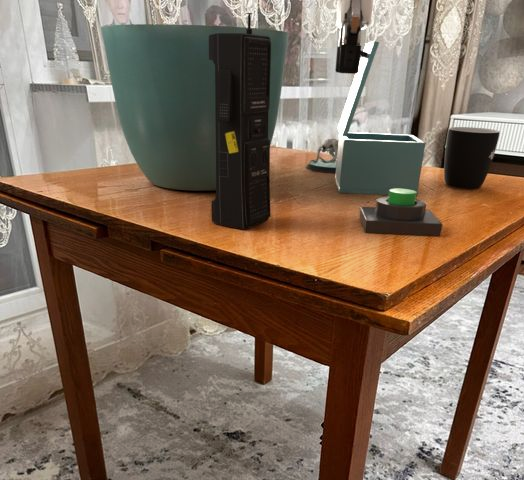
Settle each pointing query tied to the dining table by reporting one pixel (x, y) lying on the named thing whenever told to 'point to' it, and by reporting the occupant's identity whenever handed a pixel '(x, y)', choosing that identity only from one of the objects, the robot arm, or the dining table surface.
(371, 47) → the box lid
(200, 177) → the flower pot
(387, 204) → the block
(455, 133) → the mug
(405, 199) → the button
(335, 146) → the figurine
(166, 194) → the dining table surface
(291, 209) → the dining table surface
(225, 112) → the portable radio
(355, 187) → the teal open box
